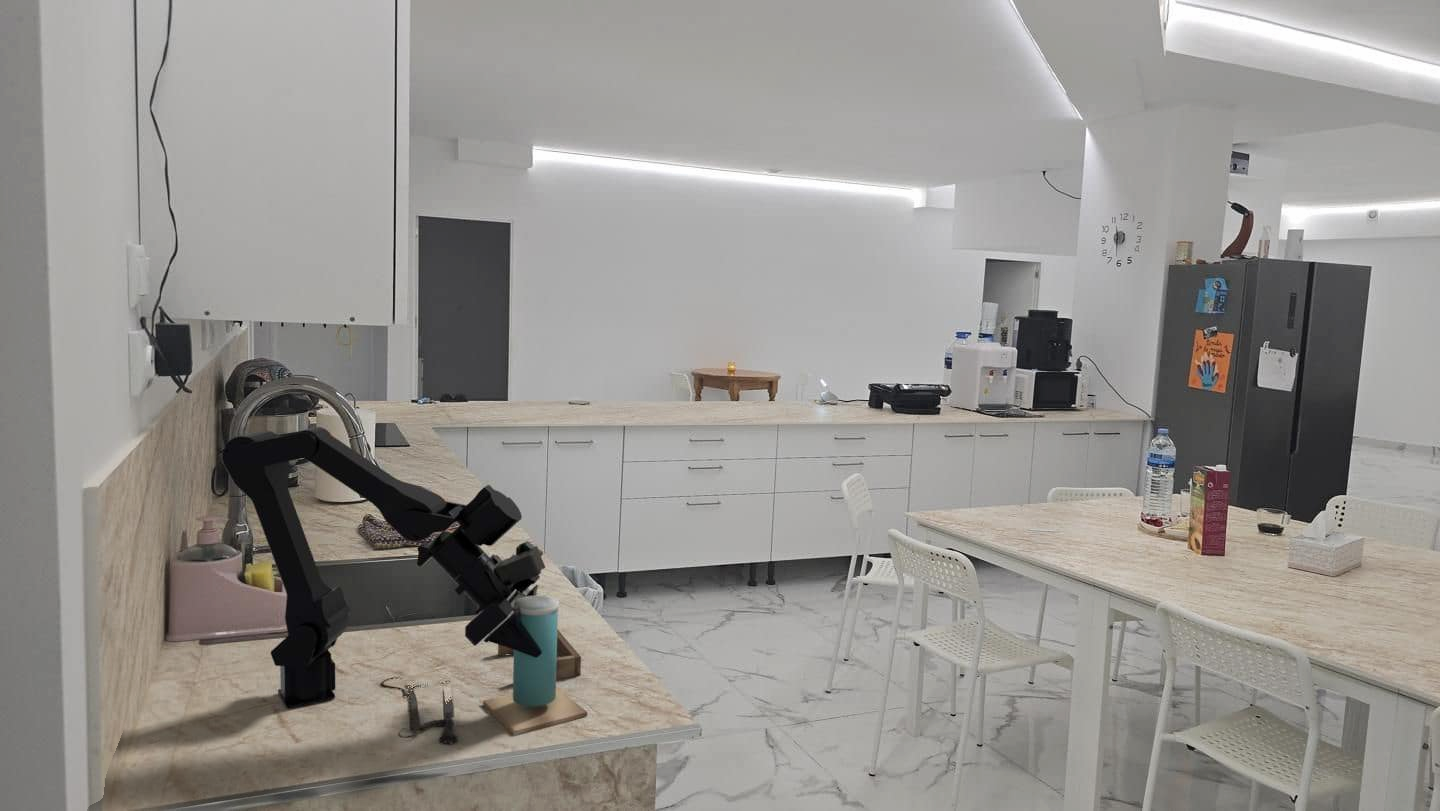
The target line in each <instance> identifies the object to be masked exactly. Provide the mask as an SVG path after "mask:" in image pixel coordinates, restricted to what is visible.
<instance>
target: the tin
mask: <svg viewBox="0 0 1440 811" xmlns="http://www.w3.org/2000/svg"><path fill="white" fill-rule="evenodd" d="M559 603H560V601H559V600H558V599H557V598H555V597H553V596H547V595H536V596H526V597H522V598H519V599H517V600H516V601H515V602H514V610H516V609H517V608H518V607H519V606H520V621H521V623H522V624H523V626H524V627H525V628H526V630H527V631H528V632H529V634H530V635H531V636H532V638H533V639H534V641H535V642H536V643H537V645H538V646H539V648H540V649H541V651H542V653H541V655H540V656H538V657H537V658H535V657H533V656H530V655H527V654H525V653H522V652H519V651H516V650H514V654H513V674H512V676H513V678H512V694H513V701H514V702H515V703H517V704H519V705H522V706H529V707H535V706H542V705H546V704H549V703H551V702H552V701H554V700H555V697H556V687H557V679H556V662H557V658H558V655H557V629H558V627H559V626H558V621H559V618H558V617H559V609H560V608H559V606H560V604H559Z"/></svg>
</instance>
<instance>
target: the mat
mask: <svg viewBox="0 0 1440 811" xmlns="http://www.w3.org/2000/svg"><path fill="white" fill-rule="evenodd" d="M483 704H484V705H485V706H486V707H487V708H488V709H489V710H488V709H487V708H486V707H485V706H484V705H483ZM482 705H483V706H484V707H485V708H486V709H487V710H488V711H489V712H490V713H491V714H492V715H493V716H494V717H495V718H496V719H497V720H498V721H499V722H500V723H501V724H503V726H505V728H507V729H508V731H509V732H510V733H511V734H512V735H514V736H516V735H521V734H524V733H525V734H526V733H529V732H532V731H536V730H540V729H543V728H547V727H551V726H555V725H557V724H558V725H559V724H562V723H566V722H570V721H573V720H576V719H580V718H581V719H582V718H584V717H588V711H587V710H586V709H584V708H583V707H582V706H580V705H579V704H578V703H577V702H575V701H574V700H573V699H572V698H571V697H569V696H568V695H567V694H566V693H564V692H563V691H562V690H561V689H559V688H558V687H557V686H556V697H555V700H554V701H552V702H551V703H549V704H546V705H542V706H535V707H529V706H522V705H519V704H517V703H515V702H514V701H513V693H509V694H506V695H505V694H504V695H502V696H497V697H494V698H488V699H485V700H484V699H483V703H482Z"/></svg>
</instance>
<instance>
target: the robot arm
mask: <svg viewBox="0 0 1440 811" xmlns="http://www.w3.org/2000/svg"><path fill="white" fill-rule="evenodd" d="M300 459H305V460H307V461H308V462H309V463H311V464H313V465H314V466H316V467H317V468H318V469H320V470H321V471H322V472H325V473H326V474H328V475H330V476H331V477H332V478H334V479H335V480H337V481H338V482H340V483H341V484H342V485H344V486H345V487H347V488H348V489H350V490H351V491H353V492H354V493H356V494H357V495H359V496H360V497H362V498H363V499H365V500H367V501H368V502H369V503H371V504H372V505H373V506H374V507H375V508H376V509H378V511H379V512H380V514H381V515H382V518H383V519H384V521H385V522H386V523H387V524H388V525H389V526H390V527H391V528H392V529H393V530H394V531H395V532H396V533H398V534H399V536H401V537H402V538H403V539H405V540H407V541H410V542H420V541H425V539H427V538H429V537H431V536H432V535H434V534H435V533H439V535H437V536H436V537H435V538H434V539H433V540H431V542H423V543H421V544H420V545H418V546H417V547H416V548H417V561H416V565H417V566H418V567H422V566H423V565H425V564H426V563H427V562H428V561H430V560H431V559H432V560H434V562H435V563H436V564H437V565H438V566H439V567H440V568H441V570H443V571H444V572H445V574H447V576H449V578H450V579H451V580H452V581H453V582H454V584H456V585H457V587H456V588H455V589H454V591H455V592H456V593H457V595H458V596H460V595H461V594H463V593H464V594H465V595H466V596H467V597H468V598H469V599H470V600H471V602H472V603H474V604H475V605H476V607H477V609H475V611H474V613H475V616H474V617H473V618H472V619H471V620H470V621H469V622H468V623H467V624H466V625H465V627H464V628H465V629H464V637H466V639H467V640H468V641H469V642H470V644H472V645H473V646H474V647H475V646H477V645H478V644H479V643H480V642H481V641H482V640H483V642H485V643H488V642H489V643H492V644H495V645H498V644H499V645H502V646H505V647H508V648H511V649H514V650H516V651H519V652H522V653H525V654H527V655H530V656H533V657H535V658H537V657H538V656H540V655H541V653H542V651H541V649H540V648H539V646H538V645H537V643H536V642H535V641H534V639H533V638H532V636H531V635H530V634H529V632H528V631H527V630H526V628H525V627H524V626H523V624H522V623H521V621H520V606H519V607H518V608H517V609H516V610H514V602H515V601H516V600H517V599H519V598H522V597H526V596H537V593H538V589H539V588H538V587H539V586H538V584H536V583H537V581H538V580H539V579H540V578H541V576H540V574H541V573H542V570H545V568H546V565H545V562H544V561H543V558H542V556H543V553H544V552H543V550H541V549H539V546H537V545H536V546H534V545H533V544H532V543H531V542H530V541H529V540H528V541H525V542H522V543H520V544H518V545H517V546H516V549H515V554H513V555H510V557H508V558H506V559H502V558H501V557H500V556H499V555H497V554H492V555H491V556H489V555H488V554H487V553H486V552H485V551H484V550H483V548H482V546H483V545H485V546H488V547H491V546H492V547H493V546H494V545H495V544H496V543H497V542H498V541H499V540H500V539H501V538H502V537H503V536H504V535H506V534H507V532H509V531H510V530H511V529H512V528H513V527H515V526H516V525H517V524H518V523H519V522H520V521H521V520H522V518H523V517H522V516H523V515H522V512H521V511H520V509H519V507H518V505H517V504H516V503H515V501H514V500H513V499H512V498H510V496H508V497H507V496H506V495H505V494H504V493H502V492H500V491H498V490H496V489H494V488H493V487H492V486H491V485H490V484H487V485H485V486H484V487H483V488H481V489H480V490H479V492H477V494H476V495H475V497H474V498H473V499H471V501H469V502H468V503H467V504H461V503H456V502H452V501H448V500H447V501H446V500H445V499H444V497H442V496H441V495H439V494H438V493H435V492H433V491H431V490H429V489H427V488H424V487H422V486H421V485H416V484H413V483H410V482H405V481H402V480H400V479H398V478H396V477H394V476H393V475H391V474H390V473H388V472H387V471H385V470H384V469H382V468H381V467H379V466H377V464H375V463H374V462H372V461H370V460H369V459H367V458H366V457H365V456H363V455H362V454H360V453H358V452H357V451H355V449H353V448H351V447H349V446H348V445H346V444H345V443H344V442H342V441H341V440H339V439H338V438H336V437H334V436H333V435H332V434H331V432H329V430H327V429H325V428H323V427H321V426H314V427H309V428H307V429H303V430H300V431H299V430H298V431H291V432H288V433H287V432H286V433H281V434H277V433H275V432H273V431H271V430H265V429H264V430H259V431H255V432H250V433H246V434H244V435H239V436H236V437H233V438H231V439H230V440H229V441H228V442H227V443H226V444H225V446H224V448H223V450H222V451H221V460H222V461H221V462H222V464H223V466H224V468H225V470H226V471H227V473H228V475H229V476H230V479H231V480H232V482H233V484H234V485H235V486H236V487H237V488H238V489H239V490H240V491H241V492H242V493H243V494H244V495H246V496H247V497H248V498H249V499H250V500H251V501H250V502H252V504H253V506H254V510H255V512H256V515H257V518H258V521H259V523H260V526H261V528H262V531H263V534H264V536H265V539H266V542H267V546H268V547H269V550H270V553H271V555H272V558H273V561H274V564H275V566H276V568H277V571H278V575H279V577H280V580H281V582H282V585H283V587H284V592H286V603H285V610H284V611H285V612H284V621H285V627H286V631H287V636H286V637H285V638H283V640H282V641H281V642H280V643H278V644H277V645H276V646H275V647H274V648H273V649H272V650H271V651H270V656H271V658H272V661H273V663H274V666H276V667H280V668H279V670H280V671H279V672H280V673H279V674H280V688H279V689H278V690H277V694H278V696H279V698H280V700H281V701H282V703H283V705H284V707H285V708H286V709H293V708H298V707H303V706H308V705H313V704H317V703H321V702H326V701H330V700H335V698H336V694H335V693H334V691H335V690H336V663H335V661H334V660H333V658H332V653H331V652H330V651H329V650H330V649H331V648H332V647H334V646H335V645H336V644H337V640H338V638H339V637H340V636H342V635H343V634H344V633H345V632H346V629H347V628H348V626H349V624H350V623H349V622H350V620H349V619H350V618H349V613H351V611H352V610H351V608H350V607H349V606H348V605H347V603H346V601H345V597H344V595H345V594H344V591H343V589H342V587H341V586H337V587H335V588H333V589H331V587H330V586H328V584H326V583H325V582H324V581H323V580H322V578H321V575H320V572H319V570H318V566H317V564H316V561H315V559H314V556H313V554H312V550H311V549H310V546H309V545H310V544H309V542H308V539H307V537H306V535H305V532H304V529H303V526H302V524H301V521H300V518H299V515H298V512H297V510H296V507H295V505H294V501H293V500H292V496H291V493H290V491H289V479H290V478H289V477H290V468H291V466H290V465H291V464H290V462H291V461H296V460H300ZM456 523H458V525H459V526H458V527H456V529H455V530H454V531H452V532H451V531H448V529H449V528H451V527H452V526H454V525H455V524H456ZM446 530H447V531H446ZM535 584H536V585H535ZM532 585H534V587H533V588H531V589H530V587H531V586H532Z"/></svg>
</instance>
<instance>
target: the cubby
mask: <svg viewBox="0 0 1440 811" xmlns="http://www.w3.org/2000/svg"><path fill="white" fill-rule="evenodd" d="M498 654H499V655H498ZM506 654H512V655H514V649H511V648H508V647H505V646H502V645H499V644H497V655H498V656H499V657H501V656H500V655H505V656H507V655H506ZM581 666H582V656H581V655H580V654H579V652H577V650H576V649H575V648H574V647H573V646H572V645H571V643H570V642H569V641H568V640H567V639H566V637H565V636H564V634H562V632H561V631H560V630H559V628H557V662H556V680H559V679H565V678H569V677H570V678H571V677H577V676H581V675H582V674H581V672H582V667H581Z"/></svg>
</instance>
